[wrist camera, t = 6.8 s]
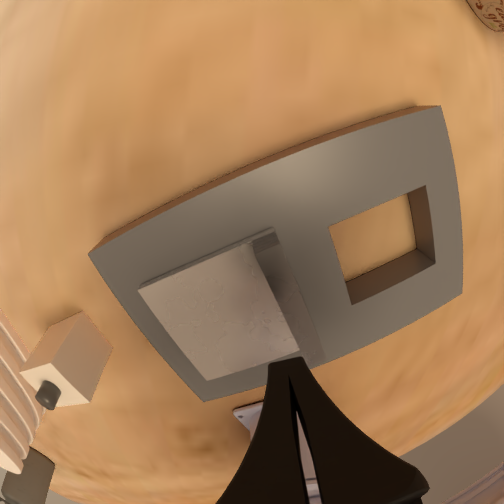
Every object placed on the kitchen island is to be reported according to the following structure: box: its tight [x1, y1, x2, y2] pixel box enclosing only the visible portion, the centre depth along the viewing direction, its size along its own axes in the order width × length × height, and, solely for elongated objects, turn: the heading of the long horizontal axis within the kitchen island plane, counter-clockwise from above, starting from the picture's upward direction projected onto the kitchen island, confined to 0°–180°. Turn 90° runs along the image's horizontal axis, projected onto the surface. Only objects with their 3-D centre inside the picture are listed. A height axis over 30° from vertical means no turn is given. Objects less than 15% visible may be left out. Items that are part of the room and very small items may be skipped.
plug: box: [19, 311, 113, 410], centre depth 16 cm, size 4×5×8 cm
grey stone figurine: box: [0, 447, 55, 504], centre depth 21 cm, size 10×10×28 cm
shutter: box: [138, 227, 327, 381], centre depth 15 cm, size 8×8×2 cm
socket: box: [88, 106, 463, 402], centre depth 17 cm, size 14×22×2 cm, turn 113°
